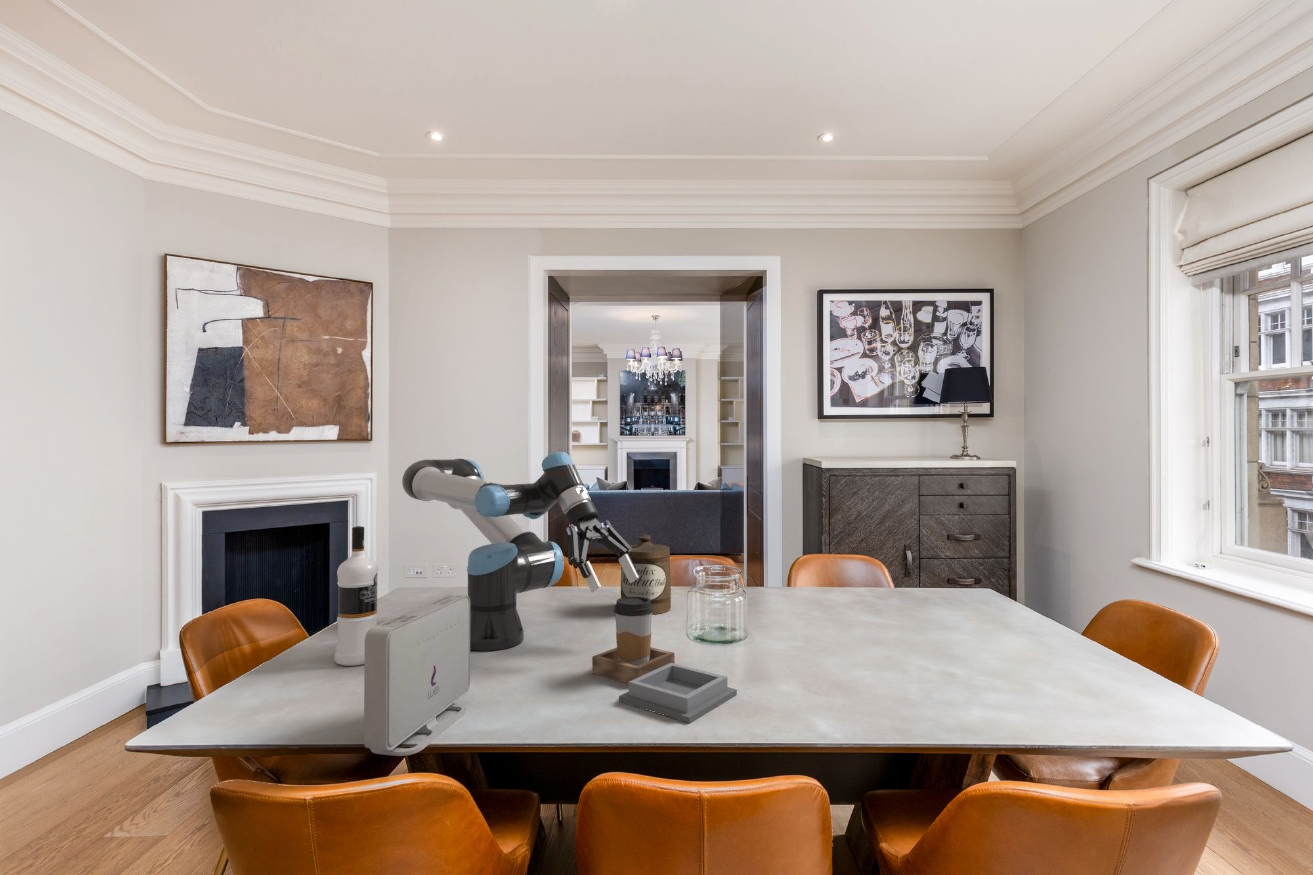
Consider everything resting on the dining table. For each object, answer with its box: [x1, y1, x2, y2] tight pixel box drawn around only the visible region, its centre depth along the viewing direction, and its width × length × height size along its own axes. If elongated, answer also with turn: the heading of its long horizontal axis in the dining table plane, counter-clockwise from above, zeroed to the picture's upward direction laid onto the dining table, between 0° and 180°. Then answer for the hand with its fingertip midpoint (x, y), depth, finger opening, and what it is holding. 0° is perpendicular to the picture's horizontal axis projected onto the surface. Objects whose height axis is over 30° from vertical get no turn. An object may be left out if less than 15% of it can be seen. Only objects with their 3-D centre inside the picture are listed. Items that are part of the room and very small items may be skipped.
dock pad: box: [618, 663, 738, 724], centre depth 120 cm, size 16×16×4 cm
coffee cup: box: [613, 597, 653, 666], centre depth 135 cm, size 8×8×15 cm
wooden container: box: [620, 533, 672, 616], centre depth 188 cm, size 15×15×22 cm
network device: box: [363, 594, 471, 757], centre depth 107 cm, size 26×9×20 cm, turn 168°
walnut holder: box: [591, 646, 676, 685], centre depth 135 cm, size 12×12×4 cm
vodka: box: [333, 525, 379, 667], centre depth 142 cm, size 9×9×30 cm
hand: (616, 584), depth 149 cm, fingers open, 13 cm apart
